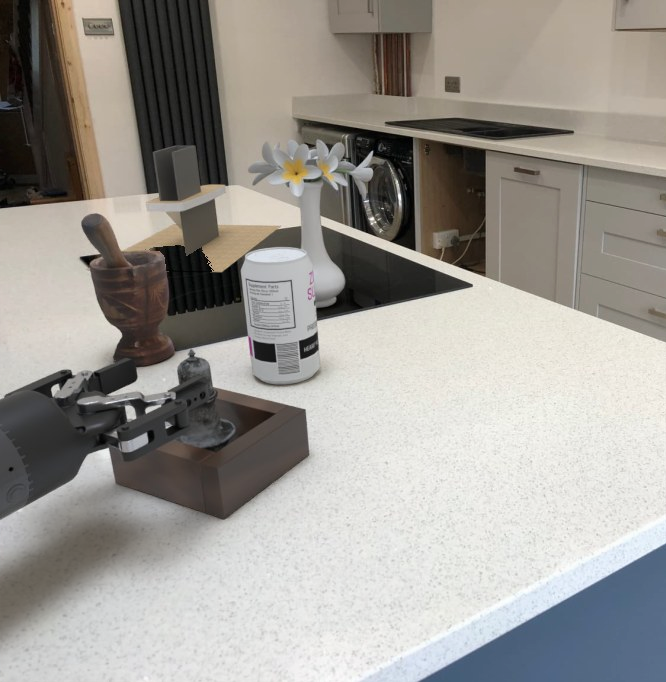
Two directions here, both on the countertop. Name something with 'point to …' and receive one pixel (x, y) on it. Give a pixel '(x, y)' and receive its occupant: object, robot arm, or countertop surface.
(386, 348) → the countertop surface
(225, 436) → the salt shaker
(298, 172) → the flower vase
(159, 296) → the mortar and pestle
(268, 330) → the supplement can
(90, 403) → the robot arm
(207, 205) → the architectural model
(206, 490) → the stand
